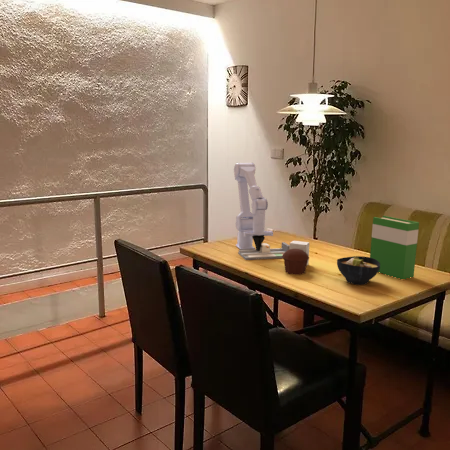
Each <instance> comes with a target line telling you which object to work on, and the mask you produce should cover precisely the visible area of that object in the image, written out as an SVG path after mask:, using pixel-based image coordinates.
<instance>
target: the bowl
mask: <svg viewBox="0 0 450 450" xmlns="http://www.w3.org/2000/svg"><path fill="white" fill-rule="evenodd" d="M336 265H337V268H338V269H337V270H338V271H339V272H340V274H341V275H342V276H343V277H344V278H345V281H346V282H347V283H348V284H352V285H357V286H358V285H359V286H362V285H363V286H364V285H366V284H368V283H369V282H370V281H371V280H372V279H373V278H375V276H377V274H379V273H378V271H379V269H380V263H379V261H377V260H376V259H373V258H370V256H369V257H368V256H363V255H362V256H361V255H360V256H359V255H356V256H347V257H345V256H344V257H341V258H337V260H336Z"/></svg>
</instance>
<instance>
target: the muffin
mask: <svg viewBox="0 0 450 450" xmlns="http://www.w3.org/2000/svg"><path fill="white" fill-rule="evenodd" d="M282 257H283V258H282V259H283V263H284V272H285V273H286V274H289V275H294V276H296V275H304V274H305V273H306V270H307V267H308V265H307V261H308V259H310V255H309V256H308V254H307V253H306V252H304V251H303V250H301V249H289V250H287V251H286V252H285V253H284V254H283V256H282Z"/></svg>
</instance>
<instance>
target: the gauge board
mask: <svg viewBox="0 0 450 450" xmlns="http://www.w3.org/2000/svg"><path fill="white" fill-rule="evenodd" d="M289 247H290V244H288V243H287V242H286V241H281V248H279V247H278V248H270V252H264V253H260V252H259V251H257V250H256V248H255V249H239V250H238V255H239V256H241V257H242V258H243V259H244V260H245V261H248V260H250V261H253V260H272V259H273V260H274V259H283V257H282V256H283V254H284V253H285V252H286V251H287V250H289Z"/></svg>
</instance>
